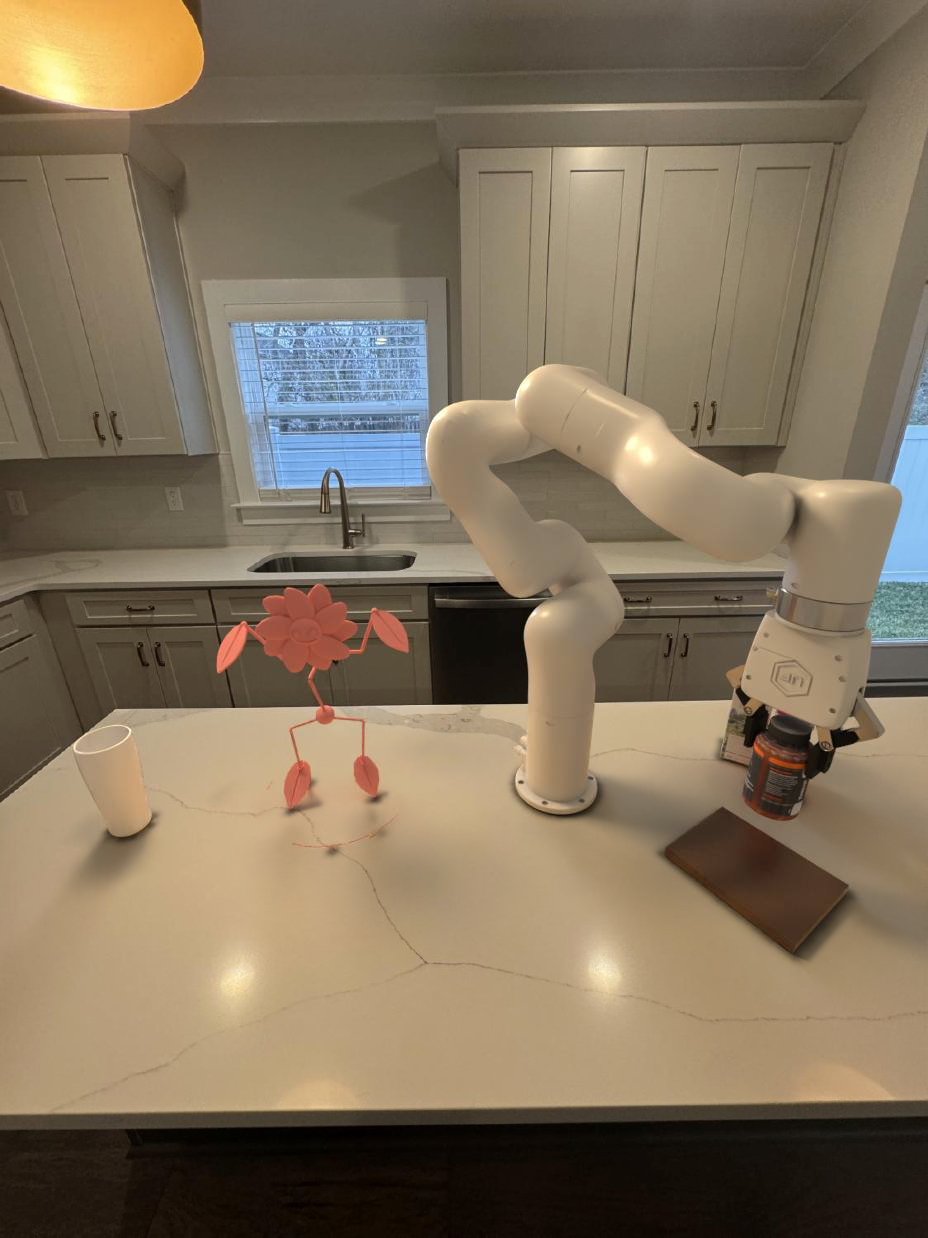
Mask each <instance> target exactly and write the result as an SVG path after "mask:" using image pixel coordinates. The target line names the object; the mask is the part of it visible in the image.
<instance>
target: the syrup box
mask: <svg viewBox="0 0 928 1238" xmlns="http://www.w3.org/2000/svg"><path fill="white" fill-rule="evenodd" d="M743 708H744V706H743V704H742V703H741V701H740V700H739V698H738V696H737V695H736V692H735V688H733V693H732V697H731V703H730V707H729V711H728V717H727V720H726V726H725V729H724V730H725V731H724V734H723V739H722V744H721V748H720V754H719V758H720V759H724V760H726V761H729V762H733V763H737V764H739V765H743V766H746V767H748V766H749V762H750V758H751V754H752V750H753V747H751V748H750V747H749V748H747V747H745V746H744V745H743V744H744V739H745V735H744V734H743V729H744V725H745V720H746V716H747V715H746V714H745V713H744V712H743ZM765 708H766V710H768V713H769V717H768V721H767V725H766V729H768V725H769V722H770V719H771V717H772V714H773V713H772V712H773V709H774V708H772V707H769V706H766V707H765Z"/></svg>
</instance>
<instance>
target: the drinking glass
mask: <svg viewBox="0 0 928 1238" xmlns="http://www.w3.org/2000/svg"><path fill="white" fill-rule="evenodd" d="M72 752H73V755H74V760H75V763H76V765H77V768H78V770H79V773H80V775H81V777H82V780H83V781H84V783H85V786H86V788H87V789H88V791H89V793H90V795H91V796H92V799H93V801H94V802H95V805H96V806H97V808H98V810H99V812H100V814H101V816H102V818H103V820H104V822H105V825H106V827H107V830H108V832H109V834H111V835H112V836H113V837H115V838H116V837H117V838H125V837H129V836H132V835H135V834H138V833H139V832H141V831H142V830H144V828H146V827H147V826H148V825H149V823H150V822H151V820H152V816H153V814H152V810H151V807H150V804H149V799H148V794H147V788H146V782H145V778H144V772H143V768H142V767H143V766H142V761H141V757H140V752H139V749H138V745H137V743H136V739H135V737H134V734H133V732H132V729H131V728H130V727H129V726H127V725H122V724H113V725H112V724H111V725H107V726H103V727H99V728H96V729H93V730H91V731H89V732H87V733H85V734H84V735H82V736H81V737H79V738H78V739H77V740H76V741H75V742H74V743H73V745H72Z"/></svg>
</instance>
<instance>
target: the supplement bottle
mask: <svg viewBox="0 0 928 1238" xmlns="http://www.w3.org/2000/svg"><path fill="white" fill-rule="evenodd" d="M812 733H813V731H812V727H811V726H810V725H809V724H808V723H807V722H805V721H802V720H800V719H797V718H795V717H793V716H790V715H776V714H774V715H773V716H770V720H769V724H768V728H767V729H764V730H762V731H760V732H759V733H758V734H757V736H756V738H755V742H754V746H753V750H752V754H751V758H750V762H749V766H747V767H748V768H747V771H746V775H745V780H744V784H743V788H742V789H743V790H742V799H743V801H744V803H745V804H746V806H748V807H749V808H750V809H751V810H752V811H753V812H755V813H756V814H758V815H760V816H762V817H764V818H765V819H766V818H767V819H768V820H769V819H770V820H773V821H779V822H786V821H787V822H789V821H792V820H795V819H796V818H797V817H798V816H799V815H800V812H801V810H802V806H803V804H804V800H805V795H806V793H807V789H808V786H809V782H810V779H809V778H807V777H805V775H804V773H805V769H806V766H807V762H808V759H809V755H810V752H811V748H812V747H813V746H814V745H815V744H813V742H812V741H811V739H812Z"/></svg>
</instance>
